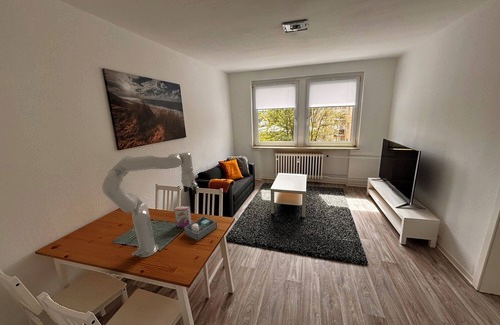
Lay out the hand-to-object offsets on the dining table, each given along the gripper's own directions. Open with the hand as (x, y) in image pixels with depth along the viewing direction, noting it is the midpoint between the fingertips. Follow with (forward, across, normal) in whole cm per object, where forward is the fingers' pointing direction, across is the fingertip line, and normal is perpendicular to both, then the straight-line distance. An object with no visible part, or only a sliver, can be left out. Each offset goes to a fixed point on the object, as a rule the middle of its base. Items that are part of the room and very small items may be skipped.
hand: (190, 192), depth 142 cm
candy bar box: (+34, -18, +2) cm, 39 cm away
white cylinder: (+34, 0, 0) cm, 34 cm away
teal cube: (+34, 0, +10) cm, 35 cm away
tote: (+34, 0, +5) cm, 35 cm away
